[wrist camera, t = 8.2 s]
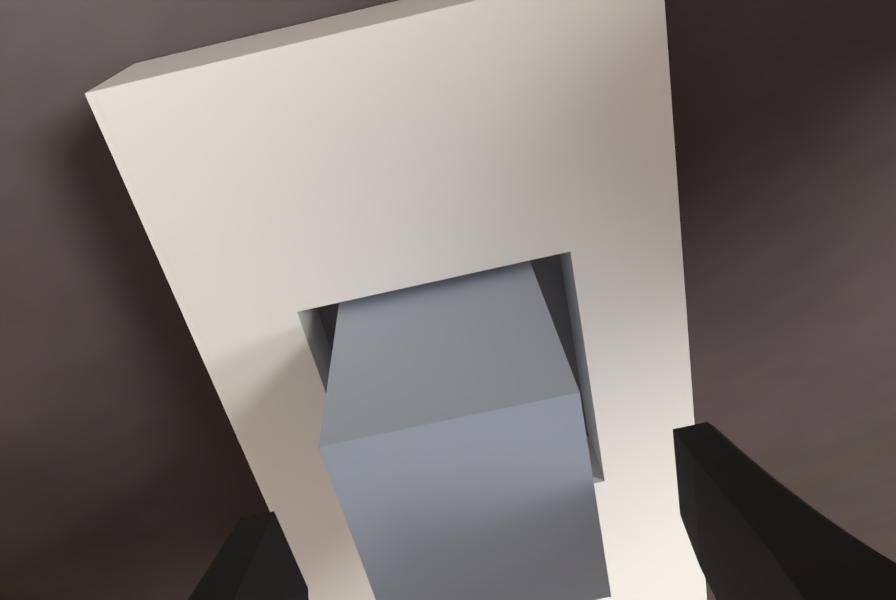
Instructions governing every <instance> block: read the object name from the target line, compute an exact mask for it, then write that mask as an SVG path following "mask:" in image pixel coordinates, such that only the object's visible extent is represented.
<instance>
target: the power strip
mask: <svg viewBox="0 0 896 600" xmlns="http://www.w3.org/2000/svg"><path fill="white" fill-rule="evenodd" d="M85 95H86V98H87V100H88V102H89V104H90V107H91V109H92V111H93V113H94V116H95V118H96V120H97V122H98V125H99V127H100V129H101V131H102V134H103V136H104V138H105V140H106V143H107V145H108V147H109V150H110V152H111V154H112V156H113V159H114V161H115V163H116V165H117V168H118V170H119V172H120V174H121V177H122V179H123V181H124V183H125V186H126V188H127V190H128V192H129V195H130V197H131V199H132V201H133V204H134V206H135V208H136V210H137V213H138V215H139V217H140V219H141V222H142V224H143V226H144V228H145V231H146V233H147V235H148V238H149V240H150V242H151V244H152V247H153V249H154V251H155V253H156V256H157V258H158V260H159V262H160V265H161V267H162V269H163V271H164V274H165V276H166V278H167V280H168V283H169V285H170V287H171V289H172V292H173V294H174V296H175V298H176V301H177V303H178V305H179V307H180V310H181V312H182V314H183V317H184V319H185V321H186V323H187V326H188V328H189V330H190V332H191V335H192V337H193V339H194V341H195V344H196V346H197V348H198V350H199V353H200V355H201V357H202V359H203V362H204V364H205V366H206V368H207V371H208V373H209V375H210V377H211V380H212V382H213V384H214V386H215V389H216V391H217V393H218V395H219V398H220V400H221V402H222V405H223V407H224V409H225V411H226V414H227V416H228V418H229V420H230V423H231V425H232V427H233V429H234V432H235V434H236V436H237V438H238V441H239V443H240V445H241V447H242V450H243V452H244V454H245V456H246V459H247V461H248V463H249V465H250V468H251V470H252V472H253V474H254V477H255V479H256V481H257V484H258V486H259V488H260V490H261V493H262V495H263V497H264V499H265V502H266V504H267V506H268V508H269V511H270V512H272V511H274V512H275V514H276V517H277V519H278V521H279V523H280V526H281V528H282V530H283V532H284V535H285V537H286V539H287V541H288V544H289V546H290V548H291V551H292V553H293V555H294V557H295V560H296V562H297V564H298V566H299V569H300V571H301V573H302V575H303V578H304V580H305V582H306V585H307V587H308V599H309V600H376V599H375V596H374V594H373V591H372V588H371V586H370V583H369V580H368V578H367V575H366V572H365V570H364V567H363V564H362V562H361V559H360V556H359V554H358V551H357V548H356V546H355V543H354V540H353V538H352V535H351V532H350V530H349V527H348V524H347V522H346V519H345V516H344V514H343V511H342V508H341V506H340V503H339V500H338V498H337V495H336V492H335V490H334V487H333V484H332V482H331V479H330V477H329V474H328V471H327V469H326V466H325V463H324V461H323V458H322V455H321V453H320V450H319V440H320V433H321V426H322V419H323V412H324V405H325V398H326V391H327V384H328V377H329V370H330V364H331V357H332V350H333V343H334V336H335V329H336V322H337V315H338V308H339V302H344V301H348V300H353V299H357V298H362V297H366V296H371V295H376V294H380V293H385V292H389V291H394V290H398V289H403V288H407V287H412V286H416V285H421V284H425V283H430V282H434V281H439V280H443V279H448V278H452V277H457V276H461V275H466V274H471V273H475V272H480V271H484V270H489V269H493V268H498V267H502V266H507V265H511V264H516V263H520V262H525V261H530V263H531V266H532V268H533V271H534V274H535V276H536V279H537V282H538V284H539V287H540V289H541V292H542V295H543V297H544V300H545V303H546V305H547V308H548V311H549V313H550V316H551V318H552V321H553V324H554V326H555V329H556V332H557V334H558V337H559V339H560V342H561V345H562V347H563V350H564V353H565V355H566V358H567V360H568V363H569V366H570V368H571V371H572V374H573V376H574V379H575V382H576V384H577V387H578V389H579V392H580V398H581V404H582V411H583V417H584V424H585V430H586V437H587V443H588V449H589V456H590V462H591V469H592V475H593V482H594V488H595V495H596V501H597V507H598V514H599V520H600V527H601V533H602V540H603V546H604V553H605V559H606V566H607V572H608V578H609V585H610V591H611V597H607V598H602V599H597V600H707V595H706V581H705V576H704V574H703V572H702V570H701V568H700V565H699V563H698V560H697V558H696V555H695V553H694V550H693V548H692V545H691V542H690V540H689V537H688V534H687V532H686V529H685V526H684V524H683V521H682V518H681V516H680V508H679V497H678V485H677V474H676V462H675V451H674V439H673V429H676V428H681V427H686V426H691V425H694V411H693V397H692V382H691V368H690V354H689V340H688V326H687V312H686V297H685V283H684V269H683V255H682V241H681V226H680V212H679V198H678V184H677V170H676V156H675V141H674V127H673V113H672V99H671V85H670V70H669V56H668V42H667V28H666V14H665V0H398V1H394V2H390V3H386V4H382V5H377V6H373V7H369V8H365V9H361V10H356V11H352V12H348V13H344V14H340V15H336V16H331V17H327V18H323V19H319V20H315V21H310V22H306V23H302V24H298V25H294V26H289V27H285V28H281V29H277V30H273V31H268V32H264V33H260V34H256V35H252V36H248V37H243V38H239V39H235V40H231V41H227V42H222V43H218V44H214V45H210V46H206V47H201V48H197V49H193V50H189V51H185V52H181V53H176V54H172V55H168V56H164V57H160V58H155V59H151V60H147V61H143V62H139V63H135V64H133V65H132V66H130V67H128V68H126V69H125V70H123V71H121V72H120V73H118V74H116V75H115V76H113V77H111V78H110V79H108V80H106V81H105V82H103V83H101V84H100V85H98V86H96V87H94V88H93V89H91V90H89V91H88V92H86V93H85Z"/></svg>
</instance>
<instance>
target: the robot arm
mask: <svg viewBox="0 0 896 600" xmlns="http://www.w3.org/2000/svg"><path fill="white" fill-rule="evenodd" d="M673 439H674V451H675V462H676V474H677V485H678V497H679V508H680V516H681V518H682V521H683V524H684V526H685V529H686V532H687V534H688V537H689V540H690V542H691V545H692V548H693V550H694V553H695V555H696V558H697V560H698V563H699V565H700V568H701V570H702V572H703V574H704V576H705V578H706V580H707V582H708V584H709V586H710V588H711V590H712V592H713V593H714V595H715V597H716V599H717V600H896V563H895V562H893V561H891V560H890V559H888V558H886V557H885V556H883V555H882V554H880V553H878V552H877V551H875V550H874V549H872V548H870V547H869V546H867V545H866V544H864V543H863V542H861V541H860V540H858V539H857V538H855V537H854V536H852V535H851V534H849V533H848V532H846V531H845V530H843V529H842V528H841V527H839V526H838V525H836V524H835V523H833V522H832V521H830V520H829V519H828V518H826V517H825V516H823V515H822V514H821V513H819V512H818V511H817V510H815V509H814V508H812V507H811V506H810V505H808V504H807V503H806V502H804V501H803V500H802V499H801V498H799V497H798V496H797V495H795V494H794V493H793V492H791V491H790V490H789V489H788V488H786V487H785V486H784V485H782V484H781V483H780V482H779V481H777V480H776V479H775V478H774V477H772V476H771V475H770V474H769V473H767V472H766V471H765V470H764V469H763V468H761V467H760V466H759V465H758V464H757V463H755V462H754V461H753V460H752V459H751V458H749V457H748V456H747V455H746V454H745V453H744V452H742V451H741V450H740V449H739V448H738V447H737V446H736V445H734V444H733V443H732V442H731V441H730V440H729V439H728V438H726V437H725V436H724V435H723V434H722V433H721V432H720V431H719V430H718V429H716V428H715V427H714V426H713V425H711V424H710V423H708V422H705V423H700V424H695V425H691V426H686V427H681V428H676V429H673ZM188 600H308V587H307V585H306V582H305V580H304V578H303V575H302V573H301V571H300V569H299V566H298V564H297V562H296V560H295V557H294V555H293V553H292V551H291V548H290V546H289V544H288V541H287V539H286V537H285V535H284V532H283V530H282V528H281V526H280V523H279V521H278V519H277V517H276V514H275V512H274V511H272V512H268V513H263V514H258V515H253V516H248V517H243V518H241V519H240V521H239V522H238V524H237V525H236V527H235V528H234V530H233V531H232V533H231V534H230V536H229V537H228V539H227V541H226V542H225V544H224V545H223V547H222V548H221V550H220V551H219V553H218V555H217V556H216V558H215V559H214V561H213V562H212V564H211V565H210V567H209V569H208V570H207V572H206V573H205V575H204V576H203V578H202V579H201V581H200V583H199V584H198V586H197V587H196V589H195V590H194V592H193V593H192V595H191V596H190V597H189V599H188Z"/></svg>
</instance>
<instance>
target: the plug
mask: <svg viewBox="0 0 896 600" xmlns="http://www.w3.org/2000/svg"><path fill="white" fill-rule="evenodd" d="M319 450H320V453H321V455H322V458H323V461H324V463H325V466H326V469H327V471H328V474H329V477H330V479H331V482H332V484H333V487H334V490H335V492H336V495H337V498H338V500H339V503H340V506H341V508H342V511H343V514H344V516H345V519H346V522H347V524H348V527H349V530H350V532H351V535H352V538H353V540H354V543H355V546H356V548H357V551H358V554H359V556H360V559H361V562H362V564H363V567H364V570H365V572H366V575H367V578H368V580H369V583H370V586H371V588H372V591H373V594H374V596H375V599H376V600H597V599H602V598H607V597H611V591H610V585H609V578H608V572H607V566H606V559H605V553H604V546H603V540H602V533H601V527H600V520H599V514H598V507H597V501H596V495H595V488H594V482H593V475H592V469H591V462H590V456H589V449H588V443H587V437H586V430H585V424H584V417H583V411H582V404H581V398H580V392H579V389H578V387H577V384H576V382H575V379H574V376H573V374H572V371H571V368H570V366H569V363H568V360H567V358H566V355H565V353H564V350H563V347H562V345H561V342H560V339H559V337H558V334H557V332H556V329H555V326H554V324H553V321H552V318H551V316H550V313H549V311H548V308H547V305H546V303H545V300H544V297H543V295H542V292H541V289H540V287H539V284H538V282H537V279H536V276H535V274H534V271H533V268H532V266H531V263H530V261H525V262H520V263H516V264H511V265H507V266H502V267H498V268H493V269H489V270H484V271H480V272H475V273H471V274H466V275H461V276H457V277H452V278H448V279H443V280H439V281H434V282H430V283H425V284H421V285H416V286H412V287H407V288H403V289H398V290H394V291H389V292H385V293H380V294H376V295H371V296H366V297H362V298H357V299H353V300H348V301H344V302H339V308H338V315H337V322H336V329H335V336H334V343H333V350H332V357H331V364H330V370H329V377H328V384H327V391H326V398H325V405H324V412H323V419H322V426H321V433H320V440H319Z"/></svg>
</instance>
